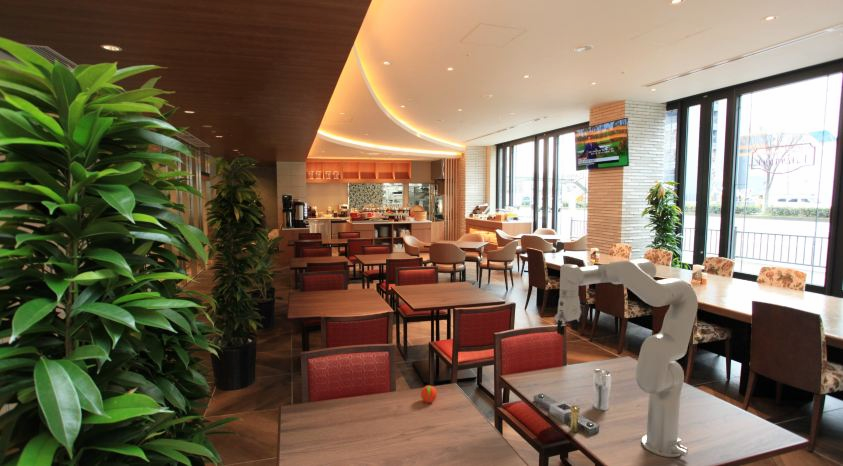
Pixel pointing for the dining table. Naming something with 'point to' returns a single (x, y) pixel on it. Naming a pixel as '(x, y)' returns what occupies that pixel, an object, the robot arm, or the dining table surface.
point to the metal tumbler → (601, 388)
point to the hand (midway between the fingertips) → (567, 332)
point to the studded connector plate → (565, 413)
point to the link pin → (574, 418)
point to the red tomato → (428, 394)
